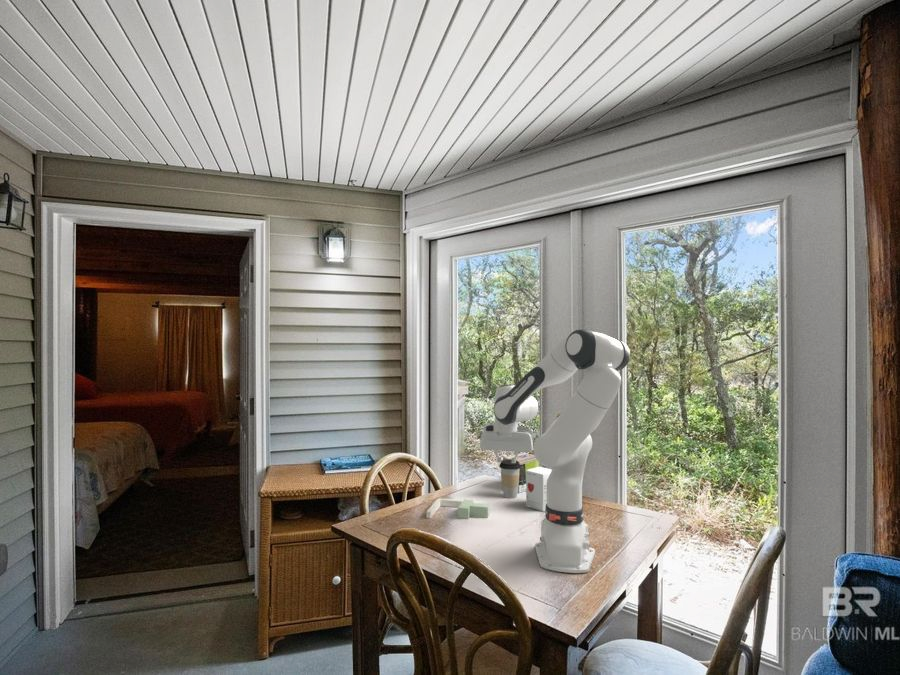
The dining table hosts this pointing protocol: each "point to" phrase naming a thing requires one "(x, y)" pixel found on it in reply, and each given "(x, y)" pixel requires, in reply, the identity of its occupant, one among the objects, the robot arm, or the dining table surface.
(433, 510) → the fence
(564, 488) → the robot arm
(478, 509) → the t block
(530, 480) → the supplement box
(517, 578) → the dining table surface
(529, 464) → the tea box
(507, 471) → the coffee cup
